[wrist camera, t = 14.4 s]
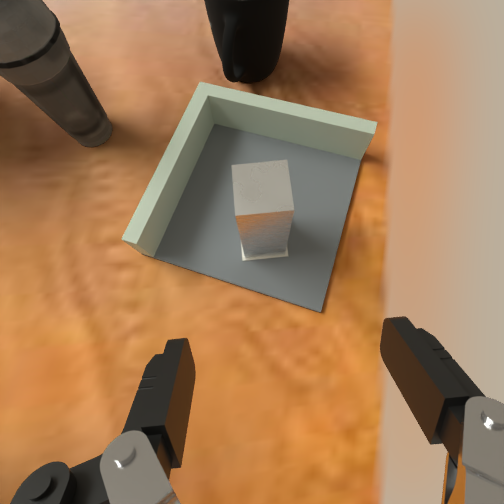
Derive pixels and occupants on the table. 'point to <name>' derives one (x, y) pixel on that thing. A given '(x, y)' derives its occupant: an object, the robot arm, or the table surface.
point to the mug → (248, 36)
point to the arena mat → (225, 226)
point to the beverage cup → (49, 70)
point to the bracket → (263, 207)
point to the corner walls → (242, 118)
